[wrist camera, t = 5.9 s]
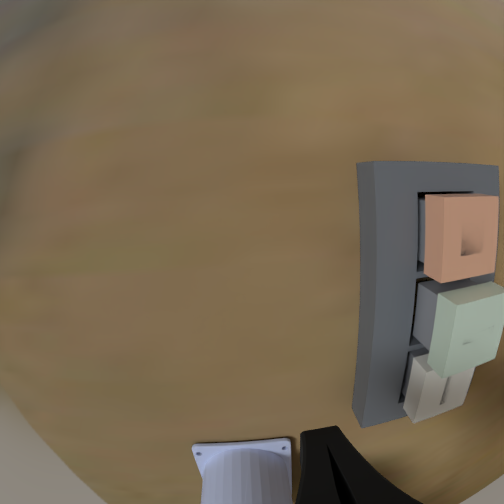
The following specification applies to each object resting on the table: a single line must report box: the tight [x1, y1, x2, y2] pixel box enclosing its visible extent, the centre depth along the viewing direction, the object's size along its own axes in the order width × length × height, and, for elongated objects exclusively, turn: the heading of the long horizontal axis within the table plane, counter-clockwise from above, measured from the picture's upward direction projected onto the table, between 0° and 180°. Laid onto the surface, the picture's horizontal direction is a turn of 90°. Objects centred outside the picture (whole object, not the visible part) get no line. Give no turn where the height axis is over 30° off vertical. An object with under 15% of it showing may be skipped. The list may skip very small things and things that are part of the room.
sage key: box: [413, 278, 504, 379], centre depth 15 cm, size 4×4×5 cm
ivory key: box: [401, 347, 475, 423], centre depth 18 cm, size 4×4×5 cm
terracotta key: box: [417, 194, 499, 283], centre depth 16 cm, size 4×4×5 cm
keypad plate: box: [352, 161, 499, 428], centre depth 18 cm, size 18×10×2 cm, turn 5°
